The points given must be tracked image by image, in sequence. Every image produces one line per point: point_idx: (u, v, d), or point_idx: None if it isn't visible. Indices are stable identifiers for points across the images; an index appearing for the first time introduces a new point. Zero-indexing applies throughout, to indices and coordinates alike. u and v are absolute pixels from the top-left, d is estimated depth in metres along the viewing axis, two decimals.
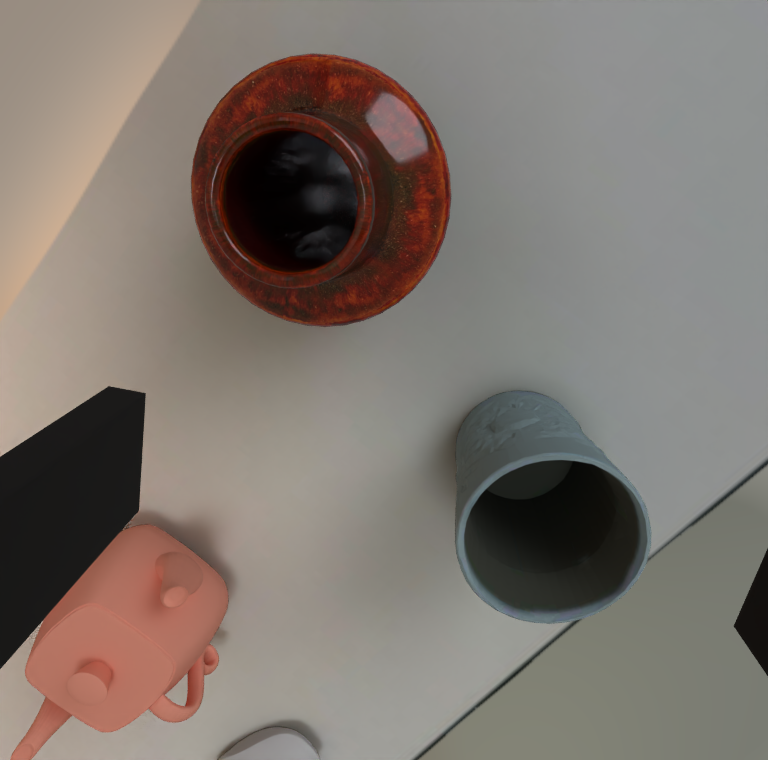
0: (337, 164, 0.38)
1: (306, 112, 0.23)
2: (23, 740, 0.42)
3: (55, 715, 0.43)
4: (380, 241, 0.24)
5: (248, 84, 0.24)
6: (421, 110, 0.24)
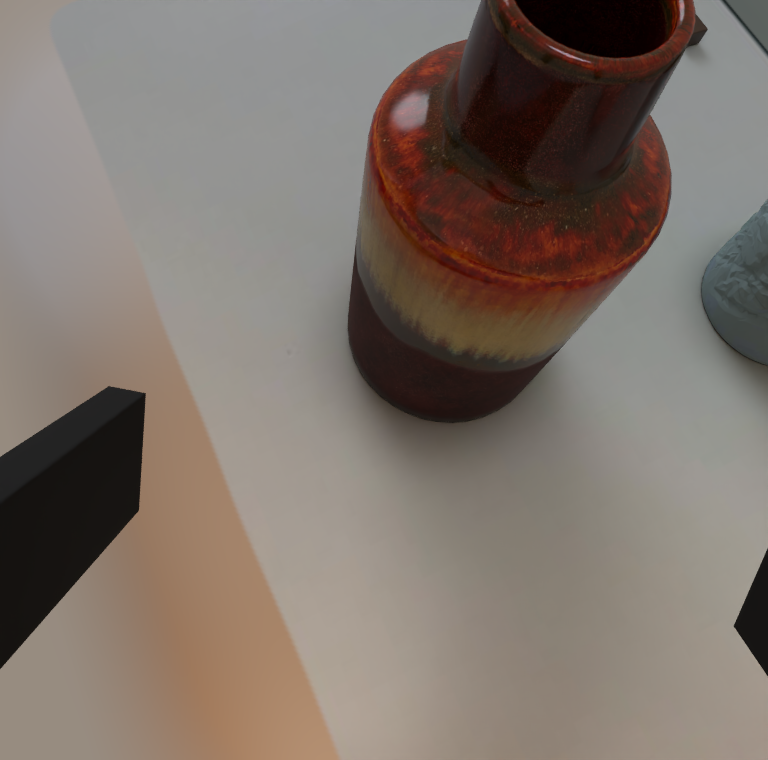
0: None
1: (450, 82, 0.20)
2: None
3: None
4: None
5: (383, 145, 0.20)
6: None
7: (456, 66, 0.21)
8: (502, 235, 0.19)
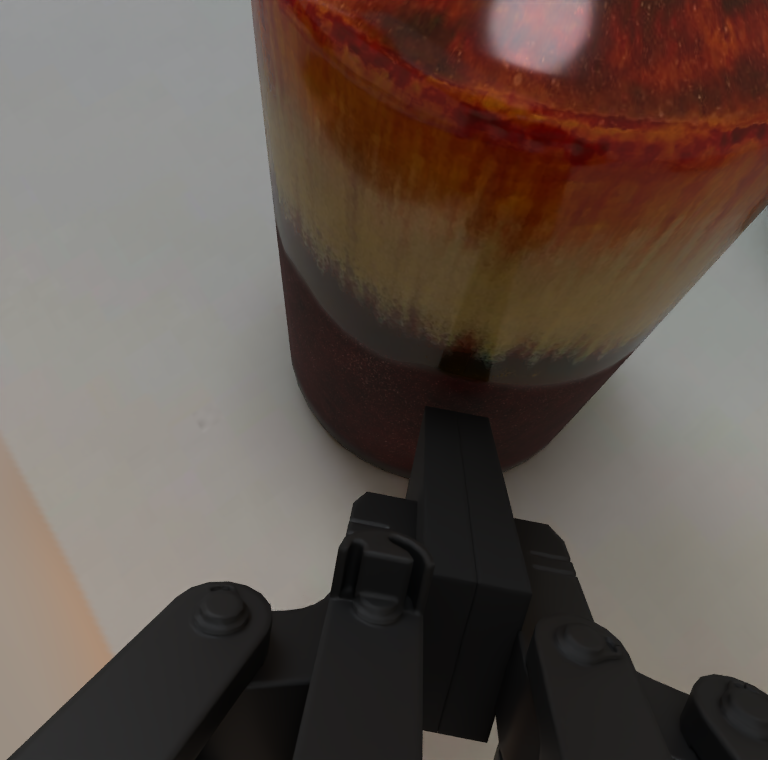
0: None
1: None
2: None
3: None
4: None
5: None
6: None
7: None
8: (602, 29, 0.08)
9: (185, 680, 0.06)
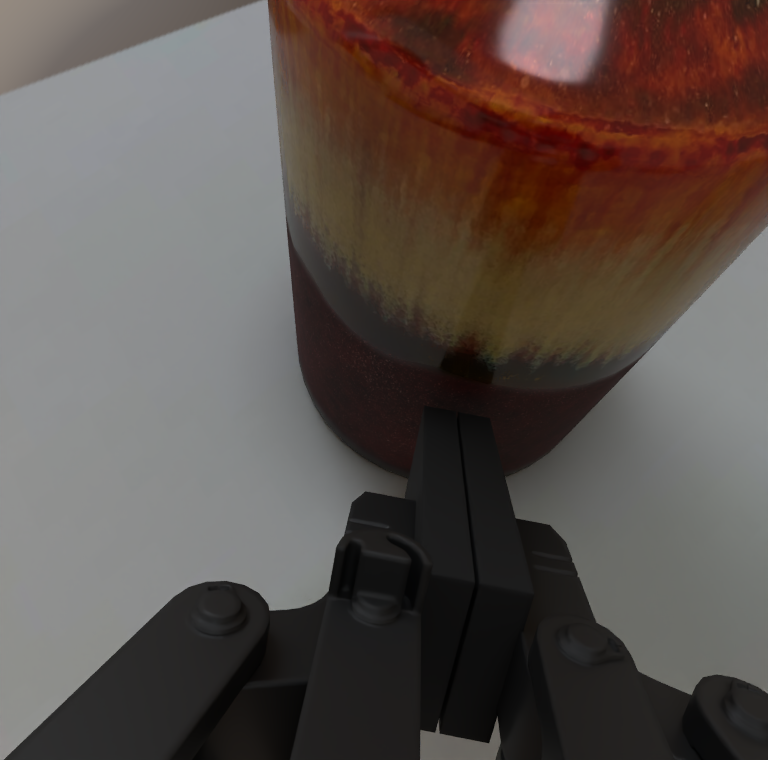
0: None
1: None
2: None
3: None
4: None
5: None
6: None
7: None
8: (612, 34, 0.08)
9: (182, 679, 0.06)
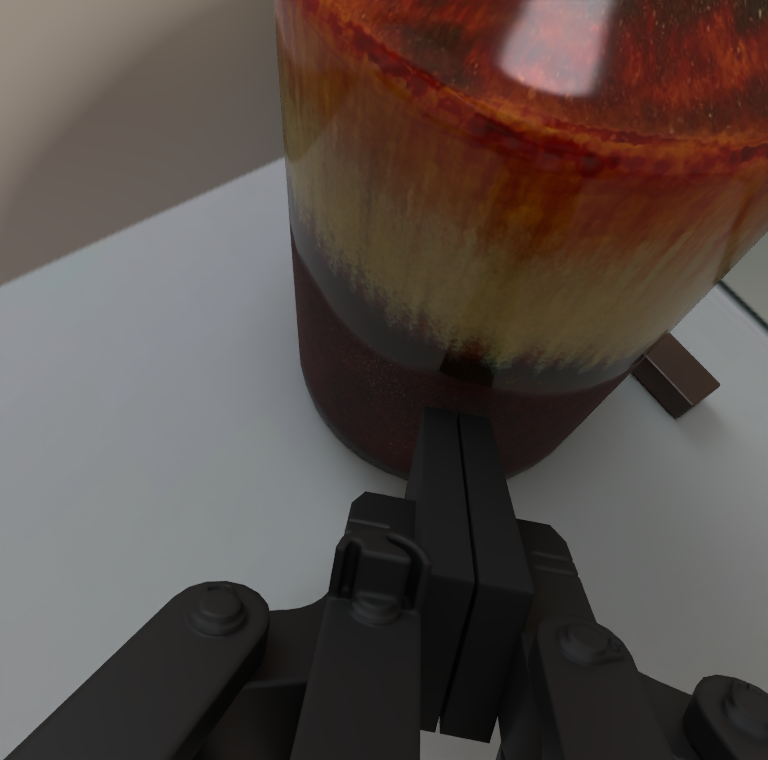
0: None
1: None
2: None
3: None
4: None
5: None
6: None
7: None
8: (617, 45, 0.08)
9: (182, 679, 0.06)
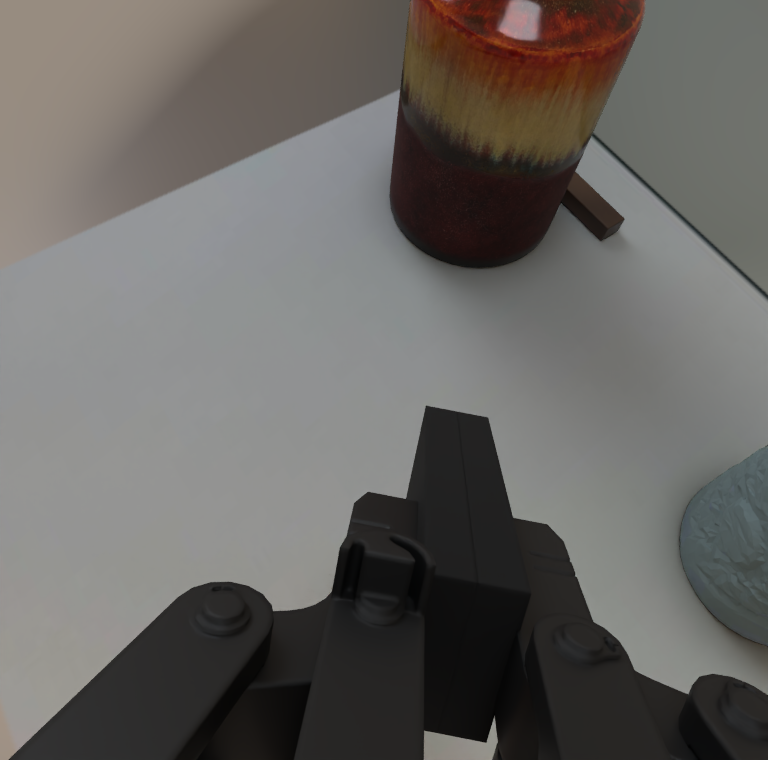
0: None
1: None
2: None
3: None
4: None
5: None
6: None
7: None
8: (530, 21, 0.26)
9: (186, 680, 0.06)
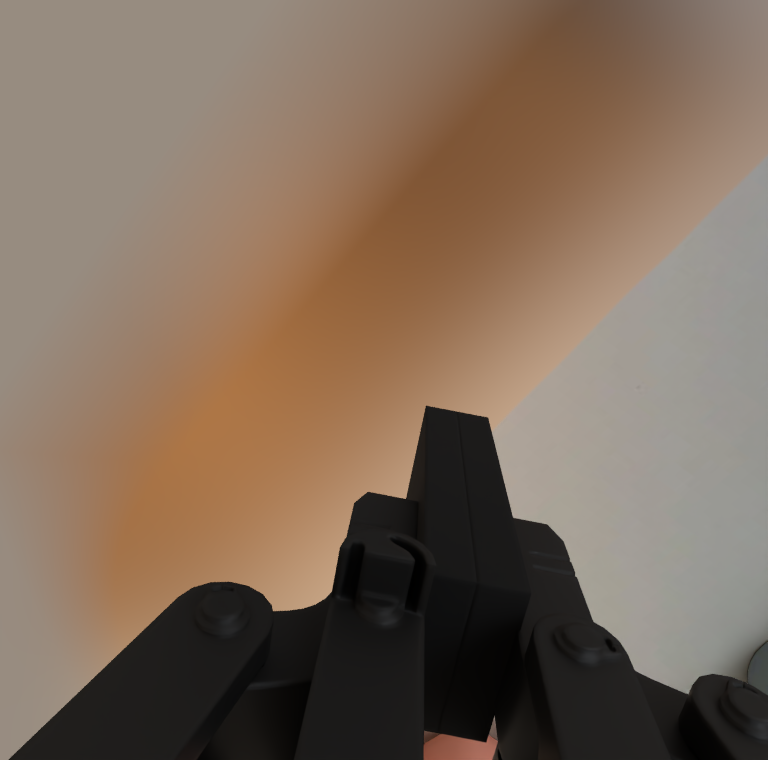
0: None
1: None
2: None
3: None
4: None
5: None
6: None
7: None
8: None
9: (186, 680, 0.06)
